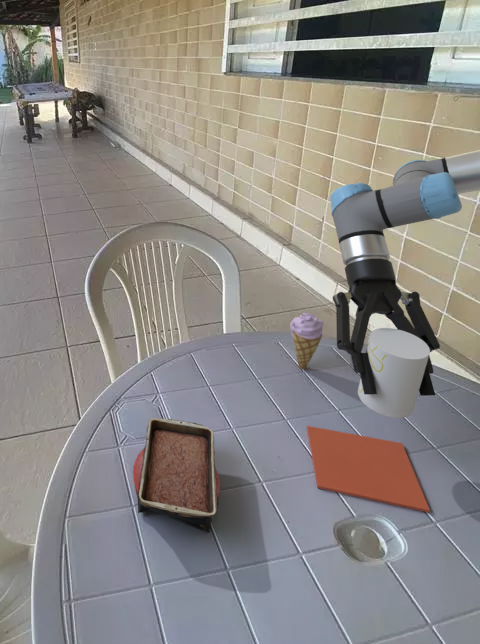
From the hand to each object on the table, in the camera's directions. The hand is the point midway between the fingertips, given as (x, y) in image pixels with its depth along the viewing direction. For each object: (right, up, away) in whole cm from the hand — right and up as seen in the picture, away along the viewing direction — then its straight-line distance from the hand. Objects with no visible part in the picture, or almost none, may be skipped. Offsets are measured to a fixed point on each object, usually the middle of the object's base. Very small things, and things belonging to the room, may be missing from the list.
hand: (399, 394), depth 69 cm
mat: (-3, -15, +6) cm, 16 cm away
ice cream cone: (-2, -6, +30) cm, 30 cm away
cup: (+1, -3, +4) cm, 5 cm away
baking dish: (-36, -18, +4) cm, 41 cm away
